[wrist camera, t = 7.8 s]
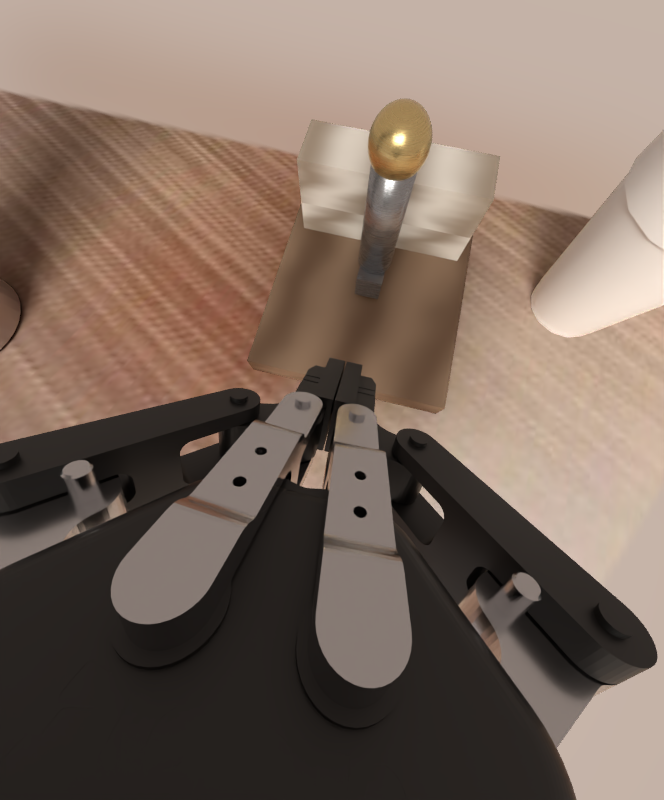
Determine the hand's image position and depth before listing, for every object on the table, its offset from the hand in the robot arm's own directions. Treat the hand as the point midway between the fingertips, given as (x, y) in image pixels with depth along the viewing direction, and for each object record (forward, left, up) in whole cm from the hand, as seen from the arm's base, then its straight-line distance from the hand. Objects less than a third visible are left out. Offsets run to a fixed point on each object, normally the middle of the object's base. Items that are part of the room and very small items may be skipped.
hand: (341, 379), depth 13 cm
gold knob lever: (0, +15, -9) cm, 18 cm away
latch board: (0, +12, -12) cm, 17 cm away
